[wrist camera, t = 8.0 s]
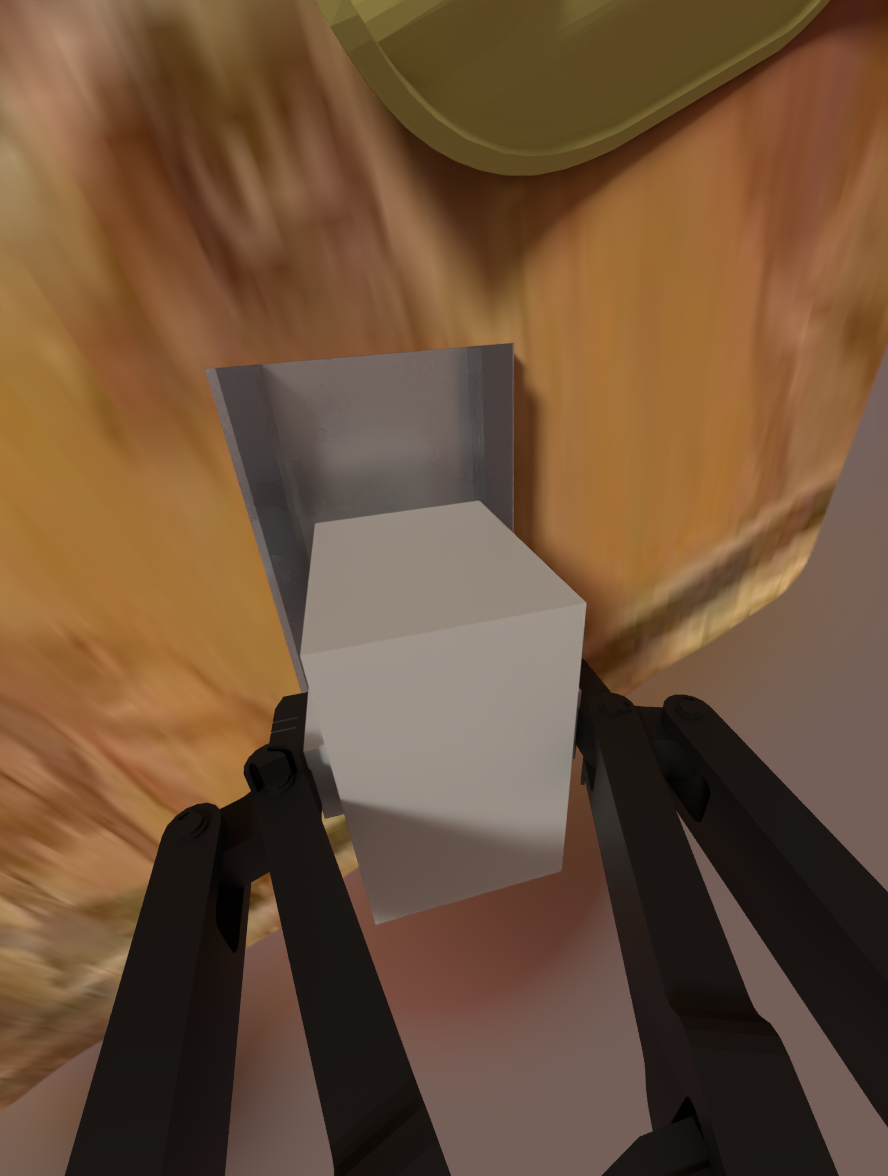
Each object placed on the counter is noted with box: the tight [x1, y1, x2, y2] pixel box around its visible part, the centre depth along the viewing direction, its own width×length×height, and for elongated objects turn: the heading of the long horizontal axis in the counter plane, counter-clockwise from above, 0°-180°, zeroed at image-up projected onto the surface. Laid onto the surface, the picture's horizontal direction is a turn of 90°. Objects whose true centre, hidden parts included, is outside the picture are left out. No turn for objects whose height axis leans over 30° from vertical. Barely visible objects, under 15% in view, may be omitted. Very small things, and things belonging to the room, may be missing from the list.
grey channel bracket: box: [205, 343, 514, 693], centre depth 22 cm, size 12×20×3 cm, turn 5°
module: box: [300, 501, 587, 925], centre depth 15 cm, size 6×10×8 cm, turn 5°
